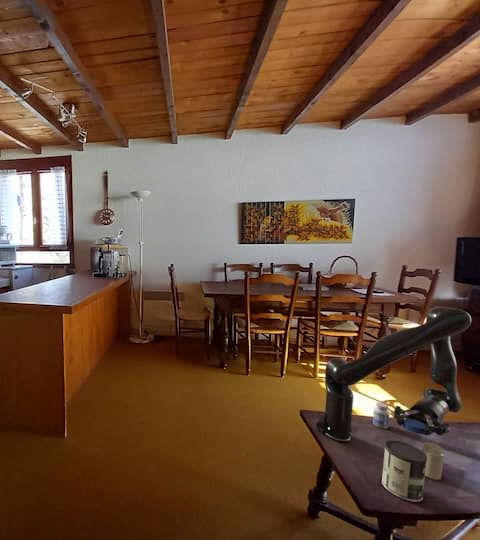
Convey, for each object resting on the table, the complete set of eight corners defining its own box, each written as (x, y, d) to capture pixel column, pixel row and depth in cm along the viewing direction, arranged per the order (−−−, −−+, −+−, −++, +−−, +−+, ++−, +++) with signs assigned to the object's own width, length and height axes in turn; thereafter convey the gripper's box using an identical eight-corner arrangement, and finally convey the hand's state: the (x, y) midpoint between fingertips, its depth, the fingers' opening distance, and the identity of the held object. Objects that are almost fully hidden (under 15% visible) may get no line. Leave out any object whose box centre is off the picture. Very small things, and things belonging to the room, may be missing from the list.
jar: (423, 476, 107) (426, 448, 106) (417, 466, 112) (419, 439, 111) (444, 482, 105) (447, 453, 104) (436, 471, 110) (439, 444, 109)
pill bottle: (382, 422, 139) (384, 402, 138) (391, 429, 134) (393, 408, 133) (369, 421, 140) (371, 401, 139) (378, 428, 135) (380, 407, 134)
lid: (428, 430, 100) (429, 424, 100) (423, 436, 97) (423, 430, 97) (405, 421, 105) (405, 416, 105) (399, 427, 102) (400, 421, 102)
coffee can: (417, 485, 103) (421, 446, 102) (427, 507, 95) (432, 465, 93) (378, 472, 109) (381, 436, 107) (384, 493, 100) (388, 453, 99)
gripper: (456, 432, 103) (441, 450, 94) (400, 412, 115) (383, 426, 106) (458, 411, 102) (444, 428, 93) (402, 393, 114) (385, 406, 105)
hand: (411, 427), depth 100 cm, fingers closed on lid, 5 cm apart
